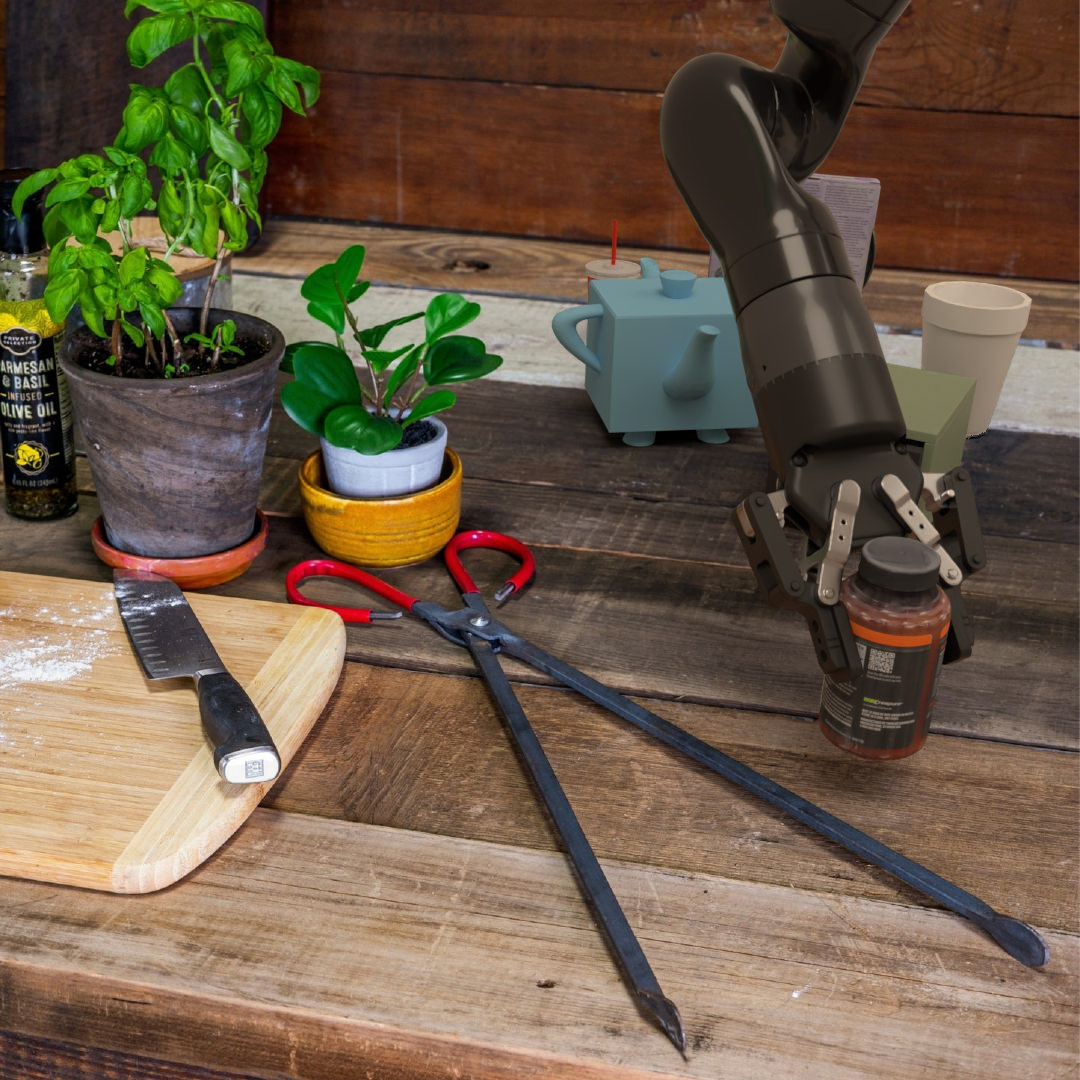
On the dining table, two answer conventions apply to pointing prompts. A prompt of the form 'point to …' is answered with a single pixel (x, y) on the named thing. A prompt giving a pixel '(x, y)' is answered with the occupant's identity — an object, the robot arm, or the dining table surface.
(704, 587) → the dining table surface
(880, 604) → the supplement bottle
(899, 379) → the cabinet
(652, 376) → the teakettle
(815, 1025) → the dining table surface
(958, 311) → the foam cup
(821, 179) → the cake pan box
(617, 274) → the beverage cup
